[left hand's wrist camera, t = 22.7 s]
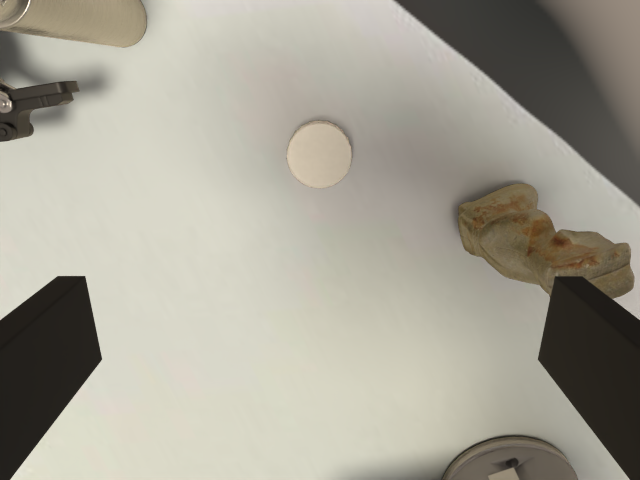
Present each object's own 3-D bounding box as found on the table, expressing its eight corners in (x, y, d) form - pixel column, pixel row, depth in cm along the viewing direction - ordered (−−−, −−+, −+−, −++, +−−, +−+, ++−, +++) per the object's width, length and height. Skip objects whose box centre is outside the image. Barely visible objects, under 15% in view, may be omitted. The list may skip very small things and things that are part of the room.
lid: (279, 130, 38) (276, 134, 35) (341, 111, 37) (342, 113, 35) (299, 190, 39) (297, 197, 37) (358, 172, 39) (360, 178, 37)
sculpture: (534, 231, 41) (647, 314, 27) (455, 251, 41) (526, 342, 27) (527, 170, 39) (646, 225, 25) (445, 191, 39) (515, 257, 25)
